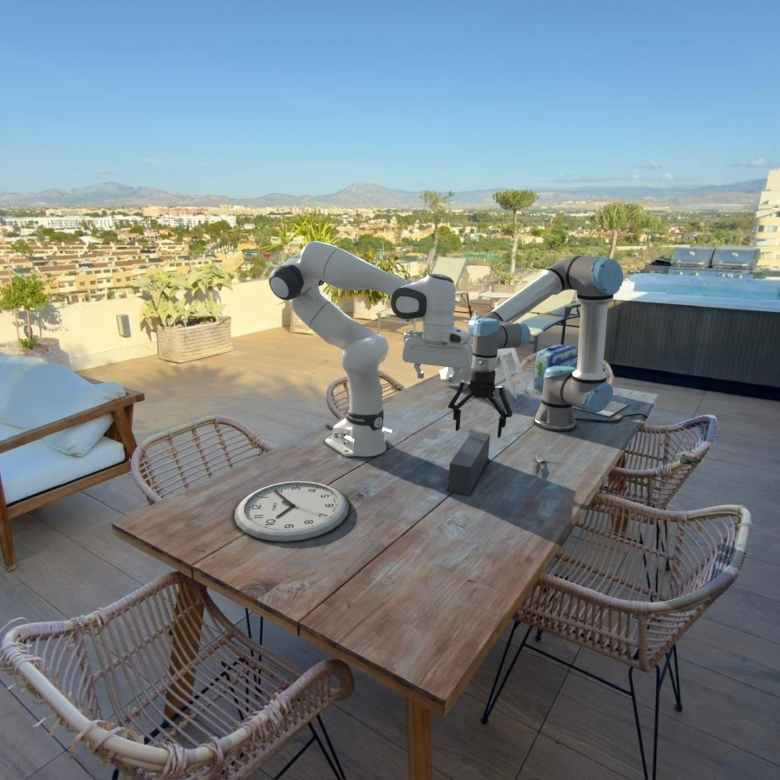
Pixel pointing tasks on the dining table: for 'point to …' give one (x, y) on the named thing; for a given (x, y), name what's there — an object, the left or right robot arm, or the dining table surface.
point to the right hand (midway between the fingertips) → (478, 432)
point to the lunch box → (553, 361)
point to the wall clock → (291, 511)
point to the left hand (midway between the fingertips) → (435, 380)
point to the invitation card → (610, 408)
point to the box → (468, 463)
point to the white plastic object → (502, 357)
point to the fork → (539, 461)
